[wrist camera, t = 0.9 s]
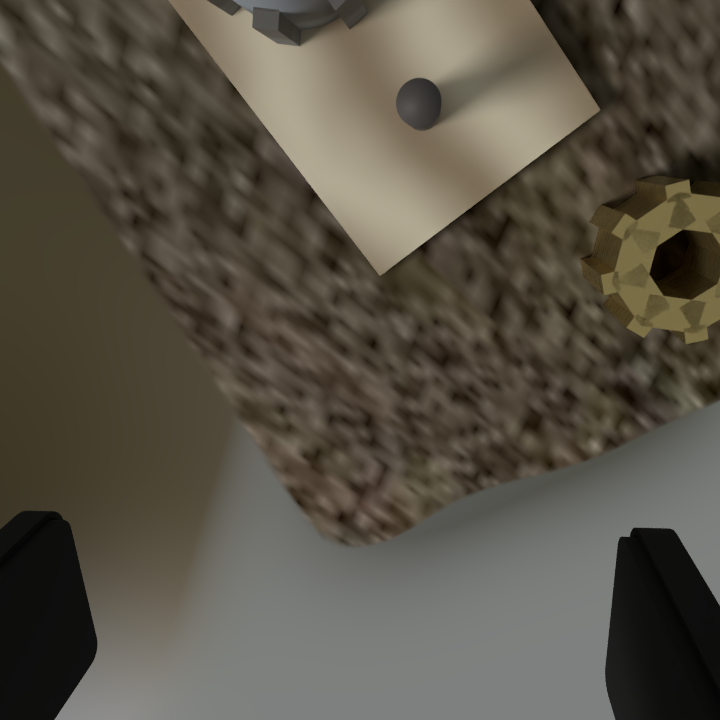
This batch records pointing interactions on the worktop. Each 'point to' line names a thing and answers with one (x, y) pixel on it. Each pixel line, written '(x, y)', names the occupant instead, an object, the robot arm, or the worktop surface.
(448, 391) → the worktop surface
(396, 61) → the gear board
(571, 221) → the worktop surface
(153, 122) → the worktop surface
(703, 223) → the brass gear
